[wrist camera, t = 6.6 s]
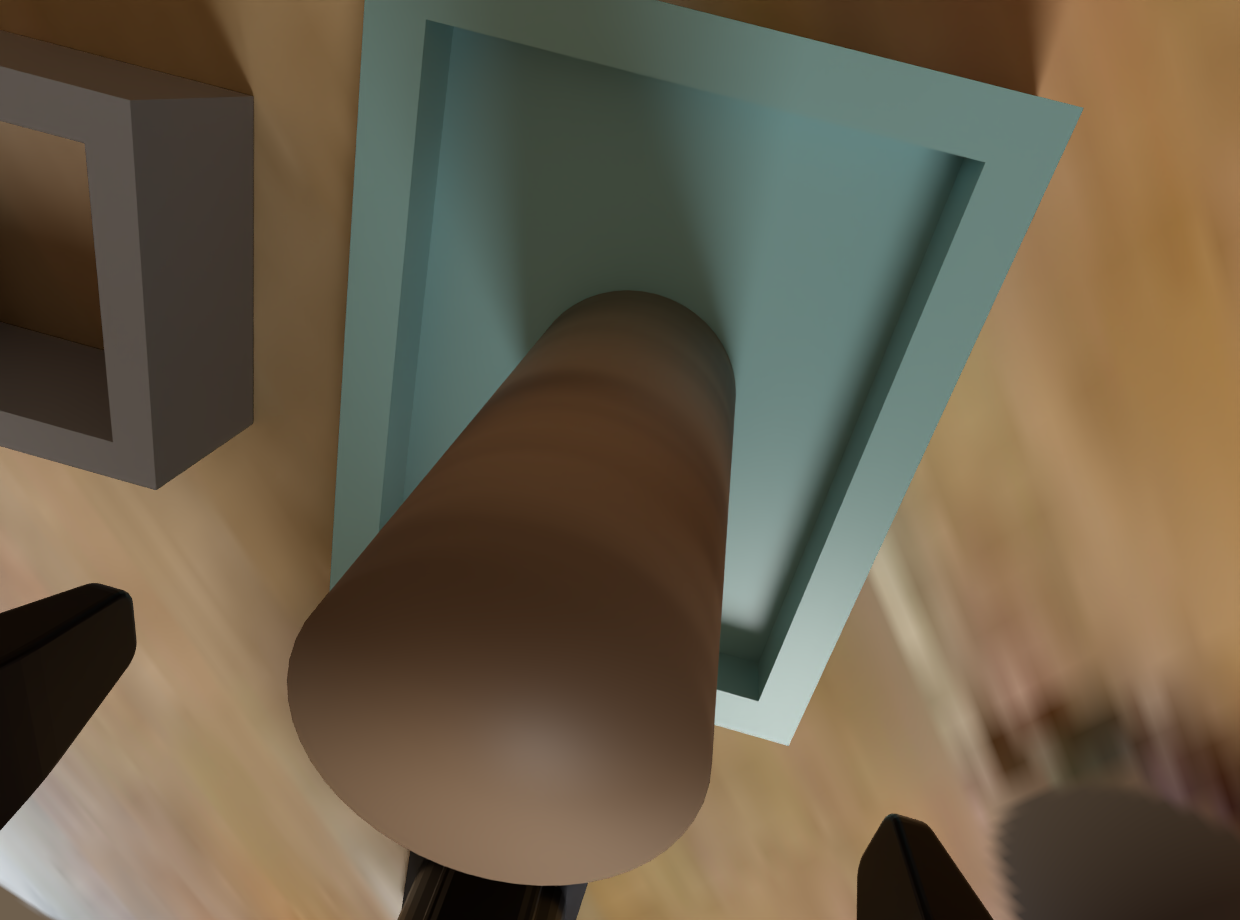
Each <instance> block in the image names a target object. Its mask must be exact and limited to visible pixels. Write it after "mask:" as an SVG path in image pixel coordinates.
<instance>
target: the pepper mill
mask: <svg viewBox="0 0 1240 920" xmlns="http://www.w3.org/2000/svg"><path fill="white" fill-rule="evenodd" d="M735 402H736V385H735V378H734V372H733V368H732V365H731V362H730V359H729V356H728V354H727V352H726V350H725V348H724V346H723V344H722V343H721V341H720V340H719V338H718V337H717V335H716V334H715V332H714V331H713V330H712V329H711V328H710V327H709V326H708V325H707V323H706V322H705V321H703V320H702V319H701V318H700V317H699V316H698V315H696V314H695V313H694V312H692V311H691V310H689V309H688V308H686V307H685V306H683V305H682V304H680V303H678V302H676V301H673V300H671V299H669V298H666V297H663V296H660V295H657V294H653V293H648V292H643V291H632V290H623V291H612V292H607V293H602V294H598V295H595V296H592V297H589V298H586V299H584V300H583V301H581V302H579V303H577V304H575V305H573V306H572V307H570V308H569V309H567V310H566V311H565V312H563V313H562V314H561V315H560V316H559V317H558V318H557V319H556V320H555V321H554V322H553V323H552V324H551V325H550V327H549V328H548V329H547V330H546V331H545V333H544V334H543V335H542V336H541V337H540V339H539V340H538V341H537V342H536V343H535V345H534V346H533V347H532V348H531V349H530V351H529V352H528V353H527V354H526V356H525V357H524V358H523V359H522V360H521V362H520V363H519V364H518V365H517V366H516V368H515V369H514V370H513V371H512V372H511V374H510V375H509V376H508V377H507V378H506V380H505V381H504V382H503V383H502V384H501V386H500V387H499V388H498V389H497V390H496V392H495V393H494V394H493V395H492V396H491V398H490V399H489V400H488V401H487V403H486V404H485V405H484V406H483V407H482V409H481V410H480V411H479V412H478V413H477V415H476V416H475V417H474V418H473V419H472V421H471V422H470V423H469V424H468V425H467V427H466V428H465V429H464V430H463V431H462V433H461V434H460V435H459V436H458V437H457V439H456V440H455V441H454V442H453V443H452V445H451V446H450V447H449V448H448V450H447V451H446V452H445V453H444V454H443V456H442V457H441V458H440V459H439V460H438V462H437V463H436V464H435V465H434V466H433V468H432V469H431V470H430V471H429V472H428V474H427V475H426V476H425V477H424V478H423V480H422V481H421V482H420V483H419V484H418V486H417V487H416V488H415V489H414V490H413V492H412V493H411V494H410V495H409V497H408V498H407V499H406V500H405V501H404V503H403V504H402V505H401V506H400V507H399V509H398V510H397V511H396V512H395V513H394V515H393V516H392V517H391V518H390V519H389V521H388V522H387V523H386V524H385V525H384V527H383V528H382V529H381V530H380V531H379V533H378V534H377V535H376V536H375V537H374V539H373V540H372V541H371V542H370V544H369V545H368V546H367V547H366V548H365V550H364V551H363V552H362V553H361V554H360V556H359V557H358V558H357V559H356V560H355V562H354V563H353V564H352V565H351V566H350V568H349V569H348V570H347V571H346V572H345V574H344V575H343V576H342V577H341V578H340V580H339V581H338V582H337V583H336V584H335V586H334V587H333V588H332V589H331V591H330V592H329V593H328V594H327V595H326V597H325V598H324V599H323V600H322V601H321V603H320V604H319V605H318V606H317V607H316V609H315V610H314V611H313V612H312V614H311V615H310V616H309V618H308V619H307V620H306V621H305V623H304V625H303V627H302V629H301V631H300V632H299V634H298V636H297V638H296V640H295V643H294V647H293V650H292V653H291V656H290V659H289V668H288V676H287V687H288V702H289V706H290V711H291V715H292V720H293V723H294V726H295V728H296V731H297V734H298V736H299V739H300V742H301V744H302V745H303V747H304V749H305V751H306V753H307V755H308V757H309V759H310V761H311V762H312V764H313V765H314V766H315V768H316V769H317V771H318V772H319V774H320V775H321V777H322V778H323V779H324V781H325V782H326V783H327V784H328V785H329V786H330V788H331V789H332V790H333V791H334V792H335V793H336V795H337V796H338V797H339V798H340V799H341V800H342V801H343V802H344V803H345V804H346V805H347V806H348V807H350V808H351V809H352V810H353V811H354V812H355V813H356V814H357V815H358V816H359V817H361V818H362V819H363V820H365V821H366V822H367V823H368V824H370V825H371V826H372V827H373V828H375V829H376V830H378V831H379V832H381V833H382V834H384V835H385V836H387V837H388V838H390V839H391V840H393V841H394V842H396V843H398V844H399V845H401V846H403V847H405V848H407V849H409V850H410V851H412V852H414V853H416V854H418V855H420V856H422V857H425V858H427V859H429V860H431V861H434V862H436V863H438V864H440V865H443V866H446V867H449V868H452V869H455V870H457V871H460V872H463V873H466V874H470V875H474V876H478V877H482V878H486V879H490V880H496V881H502V882H508V883H513V884H525V885H537V886H553V885H571V884H581V883H588V882H593V881H597V880H602V879H607V878H610V877H613V876H616V875H619V874H622V873H625V872H628V871H631V870H633V869H635V868H637V867H639V866H641V865H643V864H645V863H647V862H649V861H651V860H652V859H654V858H655V857H657V856H658V855H660V854H661V853H663V852H664V851H666V850H667V849H668V848H669V847H670V846H671V845H673V844H674V843H675V842H676V841H677V840H678V839H679V838H680V837H681V836H682V835H683V834H684V832H685V831H686V830H687V829H688V827H689V826H690V825H691V824H692V822H693V821H694V819H695V818H696V816H697V814H698V812H699V810H700V808H701V806H702V804H703V802H704V799H705V796H706V793H707V789H708V786H709V783H710V775H711V766H712V754H713V739H714V723H715V708H716V693H717V677H718V662H719V647H720V632H721V616H722V601H723V586H724V570H725V555H726V540H727V525H728V509H729V494H730V479H731V463H732V448H733V433H734V418H735Z"/></svg>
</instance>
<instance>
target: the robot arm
mask: <svg viewBox="0 0 1240 920" xmlns="http://www.w3.org/2000/svg"><path fill="white" fill-rule="evenodd" d="M135 650H136V631H135V620H134V610H133V601H132V598H131V596H130V595H129V593H127V592H126V591H124V590H120V589H117V588H113V587H110V586H106V585H103V584H99V583H91V584H86V585H83V586H80V587H77V588H74V589H71V590H68V591H65V592H62V593H59V594H56V595H53V596H50V597H47V598H44V599H41V600H38V601H35V602H32V603H29V604H26V605H23V606H20V607H17V608H14V609H11V610H8V611H5V612H2V613H0V830H1V829H2V828H3V827H4V826H5V825H6V823H7V822H8V821H9V820H10V819H11V818H12V817H13V815H14V814H15V813H16V812H17V811H18V810H19V809H20V808H21V806H22V805H23V804H24V803H25V802H26V801H27V800H28V799H29V797H30V796H31V795H32V794H33V793H34V791H35V790H36V789H37V788H38V787H39V786H40V784H41V783H42V782H43V781H44V780H45V778H46V777H47V776H48V775H49V773H50V772H51V771H52V769H53V768H54V767H55V765H56V764H57V763H58V762H59V760H60V759H61V758H62V756H63V755H64V753H65V752H66V751H67V749H68V748H69V747H70V745H71V744H72V743H73V741H74V740H75V738H76V737H77V736H78V734H79V733H80V732H81V730H82V729H83V727H84V726H85V725H86V723H87V722H88V721H89V719H90V718H91V717H92V715H93V714H94V712H95V711H96V710H97V708H98V707H99V706H100V704H101V703H102V702H103V700H104V699H105V697H106V696H107V695H108V693H109V692H110V691H111V689H112V688H113V686H114V685H115V684H116V682H117V681H118V680H119V678H120V677H121V676H122V674H123V673H124V671H125V670H126V669H127V667H128V666H129V664H130V663H131V661H132V659H133V657H134V654H135ZM587 884H588V883H581V884H571V885H553V886H537V885H525V884H513V883H508V882H502V881H496V880H490V879H486V878H482V877H478V876H474V875H470V874H466V873H463V872H460V871H457V870H455V869H452V868H449V867H446V866H443V865H440V864H438V863H436V862H434V861H431V860H429V859H427V858H425V857H422V856H420V855H418V854H416V853H414V852H412V851H410V857H409V864H408V871H407V877H406V884H405V890H404V897H403V904H402V910H401V913H400V915H399V917H398V920H576V918H577V915H578V912H579V909H580V906H581V902H582V899H583V896H584V893H585V890H586V887H587ZM857 920H993V918H992V917H991V915H990V914H989V912H988V911H987V910H986V908H985V907H984V905H983V904H982V902H981V901H980V899H979V898H978V896H977V895H976V893H975V892H974V891H973V889H972V888H971V886H970V885H969V883H968V882H967V880H966V879H965V877H964V876H963V874H962V873H961V872H960V870H959V869H958V867H957V866H956V864H955V863H954V861H953V860H952V858H951V857H950V855H949V854H948V853H947V851H946V850H945V848H944V847H943V845H942V844H941V842H940V841H939V839H938V838H937V836H936V835H935V833H934V832H933V831H932V829H931V828H930V827H929V826H928V825H927V824H925V823H924V822H922V821H919V820H916V819H912V818H909V817H905V816H902V815H898V814H890V815H888V816H886V817H885V819H884V820H883V821H882V823H881V825H880V826H879V828H878V830H877V832H876V833H875V835H874V837H873V838H872V840H871V842H870V843H869V845H868V847H867V849H866V850H865V852H864V854H863V856H862V858H861V861H860V864H859V868H858V875H857Z"/></svg>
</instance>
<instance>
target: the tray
mask: <svg viewBox="0 0 1240 920" xmlns="http://www.w3.org/2000/svg"><path fill="white" fill-rule="evenodd" d="M1082 111H1083V108H1082V107H1078V106H1074V105H1070V104H1066V103H1062V102H1058V101H1054V100H1050V99H1046V98H1042V97H1038V96H1034V95H1030V94H1026V93H1022V92H1018V91H1014V90H1010V89H1006V88H1002V87H998V86H994V85H990V84H986V83H983V82H979V81H975V80H971V79H967V78H963V77H959V76H955V75H951V74H947V73H943V72H939V71H935V70H931V69H927V68H923V67H919V66H915V65H911V64H907V63H903V62H899V61H895V60H891V59H887V58H883V57H879V56H875V55H871V54H867V53H864V52H860V51H856V50H852V49H848V48H844V47H840V46H836V45H832V44H828V43H824V42H820V41H816V40H812V39H808V38H804V37H800V36H796V35H792V34H788V33H784V32H780V31H776V30H772V29H768V28H764V27H760V26H756V25H752V24H748V23H745V22H741V21H737V20H733V19H729V18H725V17H721V16H717V15H713V14H709V13H705V12H701V11H697V10H693V9H689V8H685V7H681V6H677V5H673V4H669V3H665V2H661V1H657V0H365V4H364V21H363V37H362V54H361V71H360V88H359V105H358V122H357V138H356V155H355V172H354V189H353V206H352V223H351V239H350V256H349V273H348V290H347V307H346V324H345V340H344V357H343V374H342V391H341V408H340V425H339V441H338V458H337V475H336V492H335V509H334V526H333V542H332V559H331V576H330V591H331V589H332V588H333V587H334V586H335V584H336V583H337V582H338V581H339V580H340V578H341V577H342V576H343V575H344V574H345V572H346V571H347V570H348V569H349V568H350V566H351V565H352V564H353V563H354V562H355V560H356V559H357V558H358V557H359V556H360V554H361V553H362V552H363V551H364V550H365V548H366V547H367V546H368V545H369V544H370V542H371V541H372V540H373V539H374V537H375V536H376V535H377V534H378V533H379V531H380V530H381V529H382V528H383V527H384V525H385V524H386V523H387V522H388V521H389V519H390V518H391V517H392V516H393V515H394V513H395V512H396V511H397V510H398V509H399V507H400V506H401V505H402V504H403V503H404V501H405V500H406V499H407V498H408V497H409V495H410V494H411V493H412V492H413V490H414V489H415V488H416V487H417V486H418V484H419V483H420V482H421V481H422V480H423V478H424V477H425V476H426V475H427V474H428V472H429V471H430V470H431V469H432V468H433V466H434V465H435V464H436V463H437V462H438V460H439V459H440V458H441V457H442V456H443V454H444V453H445V452H446V451H447V450H448V448H449V447H450V446H451V445H452V443H453V442H454V441H455V440H456V439H457V437H458V436H459V435H460V434H461V433H462V431H463V430H464V429H465V428H466V427H467V425H468V424H469V423H470V422H471V421H472V419H473V418H474V417H475V416H476V415H477V413H478V412H479V411H480V410H481V409H482V407H483V406H484V405H485V404H486V403H487V401H488V400H489V399H490V398H491V396H492V395H493V394H494V393H495V392H496V390H497V389H498V388H499V387H500V386H501V384H502V383H503V382H504V381H505V380H506V378H507V377H508V376H509V375H510V374H511V372H512V371H513V370H514V369H515V368H516V366H517V365H518V364H519V363H520V362H521V360H522V359H523V358H524V357H525V356H526V354H527V353H528V352H529V351H530V349H531V348H532V347H533V346H534V345H535V343H536V342H537V341H538V340H539V339H540V337H541V336H542V335H543V334H544V333H545V331H546V330H547V329H548V328H549V327H550V325H551V324H552V323H553V322H554V321H555V320H556V319H557V318H558V317H559V316H560V315H561V314H562V313H563V312H565V311H566V310H567V309H569V308H570V307H572V306H573V305H575V304H577V303H579V302H581V301H583V300H584V299H586V298H589V297H592V296H595V295H598V294H602V293H607V292H612V291H623V290H632V291H643V292H648V293H653V294H657V295H660V296H663V297H666V298H669V299H671V300H673V301H676V302H678V303H680V304H682V305H683V306H685V307H686V308H688V309H689V310H691V311H692V312H694V313H695V314H696V315H698V316H699V317H700V318H701V319H702V320H703V321H705V322H706V323H707V325H708V326H709V327H710V328H711V329H712V330H713V331H714V332H715V334H716V335H717V337H718V338H719V340H720V341H721V343H722V344H723V346H724V348H725V350H726V352H727V354H728V356H729V359H730V362H731V365H732V368H733V372H734V378H735V385H736V402H735V418H734V433H733V448H732V463H731V479H730V494H729V509H728V525H727V540H726V555H725V570H724V586H723V601H722V616H721V632H720V647H719V662H718V677H717V693H716V708H715V723H714V725H717V726H721V727H724V728H728V729H731V730H735V731H738V732H742V733H745V734H749V735H752V736H756V737H759V738H763V739H766V740H770V741H773V742H777V743H780V744H784V745H787V746H789V744H790V742H791V739H792V737H793V735H794V733H795V731H796V729H797V726H798V724H799V722H800V720H801V718H802V716H803V714H804V711H805V709H806V707H807V705H808V703H809V701H810V698H811V696H812V694H813V692H814V690H815V688H816V685H817V683H818V681H819V679H820V677H821V675H822V672H823V670H824V668H825V666H826V664H827V662H828V659H829V657H830V655H831V653H832V651H833V649H834V647H835V644H836V642H837V640H838V638H839V636H840V634H841V631H842V629H843V627H844V625H845V623H846V621H847V618H848V616H849V614H850V612H851V610H852V608H853V605H854V603H855V601H856V599H857V597H858V595H859V593H860V590H861V588H862V586H863V584H864V582H865V580H866V577H867V575H868V573H869V571H870V569H871V567H872V564H873V562H874V560H875V558H876V556H877V554H878V551H879V549H880V547H881V545H882V543H883V541H884V538H885V536H886V534H887V532H888V530H889V528H890V526H891V523H892V521H893V519H894V517H895V515H896V513H897V510H898V508H899V506H900V504H901V502H902V500H903V497H904V495H905V493H906V491H907V489H908V487H909V484H910V482H911V480H912V478H913V476H914V474H915V471H916V469H917V467H918V465H919V463H920V461H921V459H922V456H923V454H924V452H925V450H926V448H927V446H928V443H929V441H930V439H931V437H932V435H933V433H934V430H935V428H936V426H937V424H938V422H939V420H940V417H941V415H942V413H943V411H944V409H945V407H946V405H947V402H948V400H949V398H950V396H951V394H952V392H953V389H954V387H955V385H956V383H957V381H958V379H959V376H960V374H961V372H962V370H963V368H964V366H965V363H966V361H967V359H968V357H969V355H970V353H971V350H972V348H973V346H974V344H975V342H976V340H977V338H978V335H979V333H980V331H981V329H982V327H983V325H984V322H985V320H986V318H987V316H988V314H989V312H990V309H991V307H992V305H993V303H994V301H995V299H996V296H997V294H998V292H999V290H1000V288H1001V286H1002V284H1003V281H1004V279H1005V277H1006V275H1007V273H1008V271H1009V268H1010V266H1011V264H1012V262H1013V260H1014V258H1015V255H1016V253H1017V251H1018V249H1019V247H1020V245H1021V242H1022V240H1023V238H1024V236H1025V234H1026V232H1027V229H1028V227H1029V225H1030V223H1031V221H1032V219H1033V217H1034V214H1035V212H1036V210H1037V208H1038V206H1039V204H1040V201H1041V199H1042V197H1043V195H1044V193H1045V191H1046V188H1047V186H1048V184H1049V182H1050V180H1051V178H1052V175H1053V173H1054V171H1055V169H1056V167H1057V165H1058V162H1059V160H1060V158H1061V156H1062V154H1063V152H1064V150H1065V147H1066V145H1067V143H1068V141H1069V139H1070V137H1071V134H1072V132H1073V130H1074V128H1075V126H1076V124H1077V121H1078V119H1079V117H1080V115H1081V113H1082Z"/></svg>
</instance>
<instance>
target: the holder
mask: <svg viewBox="0 0 1240 920" xmlns="http://www.w3.org/2000/svg"><path fill="white" fill-rule="evenodd" d="M0 121H3V122H7V123H10V124H14V125H18V126H22V127H25V128H29V129H33V130H37V131H40V132H44V133H48V134H52V135H55V136H59V137H63V138H67V139H70V140H74V141H78V142H82V143H85V151H86V162H87V172H88V183H89V193H90V204H91V215H92V225H93V236H94V246H95V257H96V267H97V278H98V289H99V299H100V310H101V320H102V331H103V341H104V350H100V349H96V348H93V347H89V346H85V345H82V344H78V343H75V342H71V341H67V340H64V339H60V338H57V337H53V336H49V335H46V334H42V333H38V332H35V331H31V330H28V329H24V328H20V327H17V326H13V325H10V324H6V323H2V322H0V446H2V447H5V448H9V449H12V450H16V451H19V452H23V453H26V454H30V455H33V456H37V457H40V458H44V459H48V460H51V461H55V462H58V463H62V464H65V465H69V466H72V467H76V468H79V469H83V470H86V471H90V472H93V473H97V474H101V475H104V476H108V477H111V478H115V479H118V480H122V481H125V482H129V483H132V484H136V485H139V486H143V487H147V488H150V489H154V490H157V489H159V488H160V487H162V486H163V485H165V484H166V483H167V482H169V481H170V480H172V479H173V478H175V477H176V476H178V475H179V474H181V473H182V472H183V471H185V470H186V469H188V468H189V467H191V466H192V465H194V464H195V463H197V462H198V461H199V460H201V459H202V458H204V457H205V456H207V455H208V454H210V453H211V452H213V451H214V450H215V449H217V448H218V447H220V446H221V445H223V444H224V443H226V442H227V441H229V440H230V439H232V438H233V437H234V436H236V435H237V434H239V433H240V432H242V431H243V430H245V429H246V428H248V427H249V426H250V425H252V424H253V96H250V95H247V94H243V93H239V92H235V91H231V90H227V89H224V88H220V87H216V86H212V85H208V84H205V83H201V82H197V81H193V80H189V79H185V78H182V77H178V76H174V75H170V74H166V73H163V72H159V71H155V70H151V69H147V68H143V67H140V66H136V65H132V64H128V63H124V62H121V61H117V60H113V59H109V58H105V57H101V56H98V55H94V54H90V53H86V52H82V51H79V50H75V49H71V48H67V47H63V46H59V45H56V44H52V43H48V42H44V41H40V40H37V39H33V38H29V37H25V36H21V35H17V34H14V33H10V32H6V31H2V30H0Z"/></svg>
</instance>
